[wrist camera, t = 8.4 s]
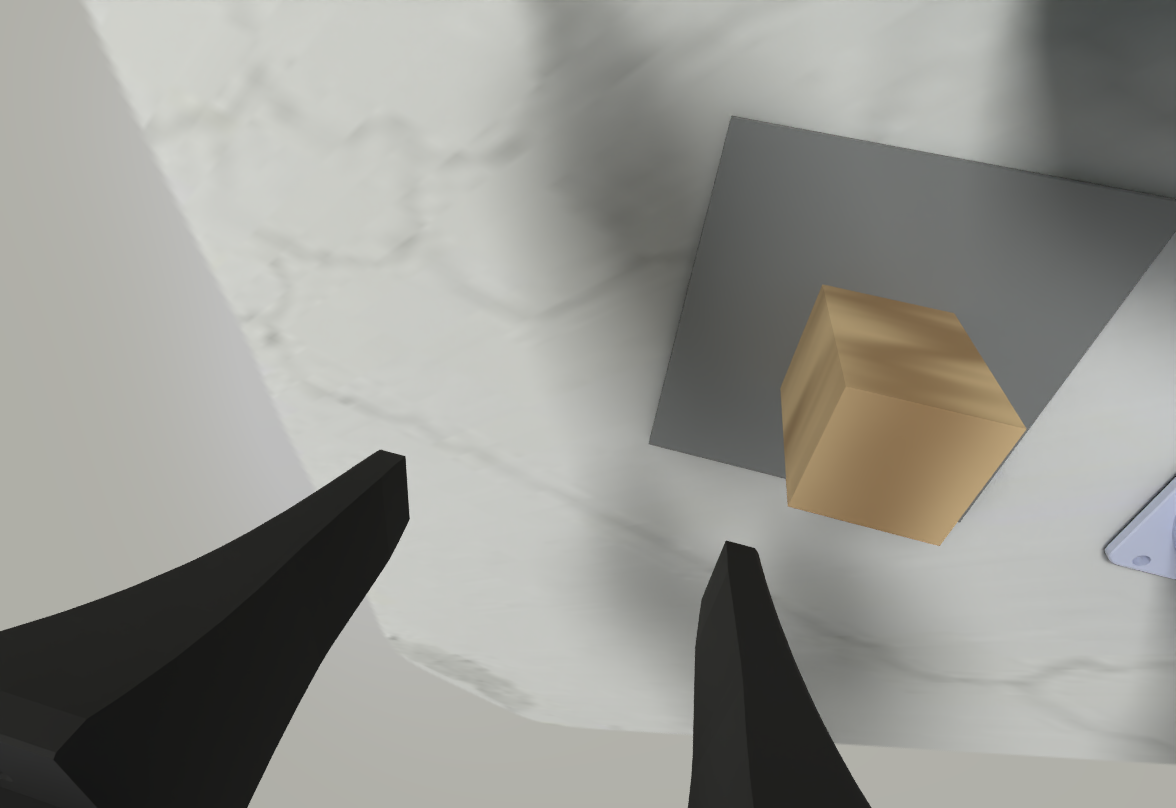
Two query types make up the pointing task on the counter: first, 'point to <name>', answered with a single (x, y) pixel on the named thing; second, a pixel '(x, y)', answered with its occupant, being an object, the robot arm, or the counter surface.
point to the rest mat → (889, 272)
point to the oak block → (890, 416)
